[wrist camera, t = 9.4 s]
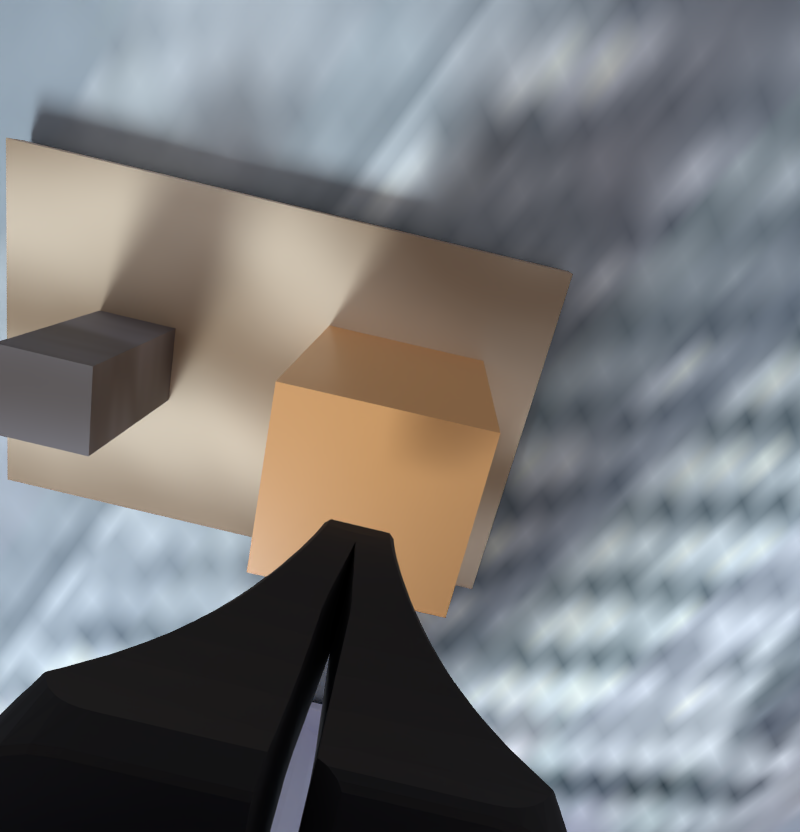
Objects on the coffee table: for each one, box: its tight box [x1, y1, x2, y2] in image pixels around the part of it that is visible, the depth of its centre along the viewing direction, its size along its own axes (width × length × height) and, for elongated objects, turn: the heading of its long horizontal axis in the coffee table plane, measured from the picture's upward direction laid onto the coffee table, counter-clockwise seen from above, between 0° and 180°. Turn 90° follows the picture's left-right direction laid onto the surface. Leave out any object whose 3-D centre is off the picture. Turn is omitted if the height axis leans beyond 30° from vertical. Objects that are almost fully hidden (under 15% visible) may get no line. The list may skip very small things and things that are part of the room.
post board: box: [0, 138, 573, 589], centre depth 19 cm, size 12×18×6 cm, turn 78°
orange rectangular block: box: [247, 325, 500, 618], centre depth 17 cm, size 5×5×7 cm
